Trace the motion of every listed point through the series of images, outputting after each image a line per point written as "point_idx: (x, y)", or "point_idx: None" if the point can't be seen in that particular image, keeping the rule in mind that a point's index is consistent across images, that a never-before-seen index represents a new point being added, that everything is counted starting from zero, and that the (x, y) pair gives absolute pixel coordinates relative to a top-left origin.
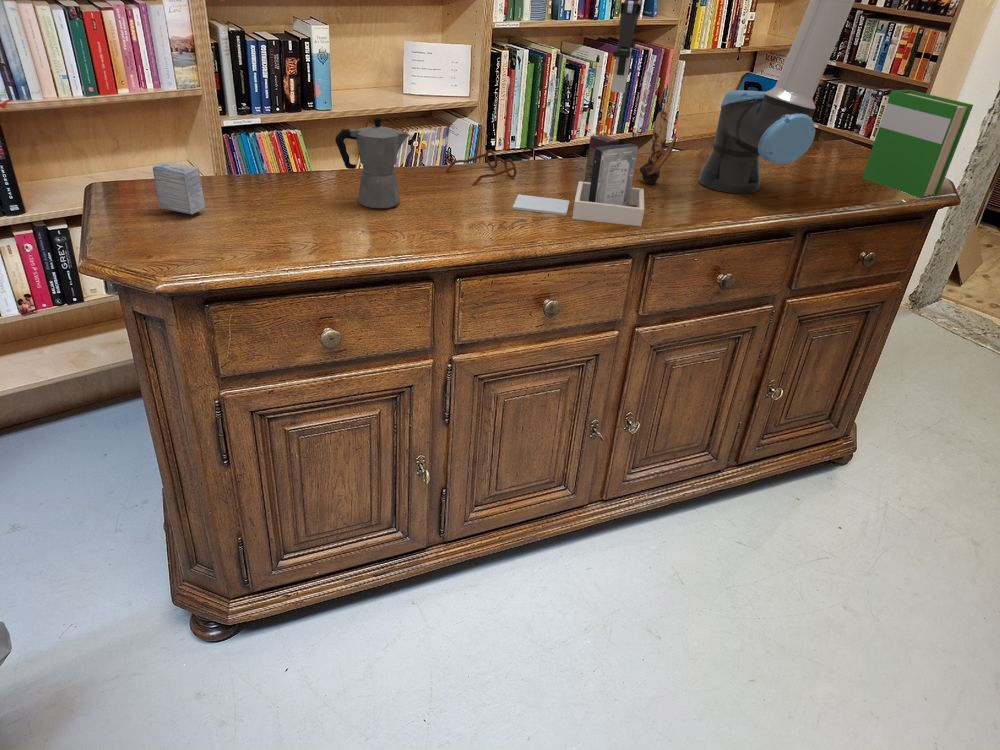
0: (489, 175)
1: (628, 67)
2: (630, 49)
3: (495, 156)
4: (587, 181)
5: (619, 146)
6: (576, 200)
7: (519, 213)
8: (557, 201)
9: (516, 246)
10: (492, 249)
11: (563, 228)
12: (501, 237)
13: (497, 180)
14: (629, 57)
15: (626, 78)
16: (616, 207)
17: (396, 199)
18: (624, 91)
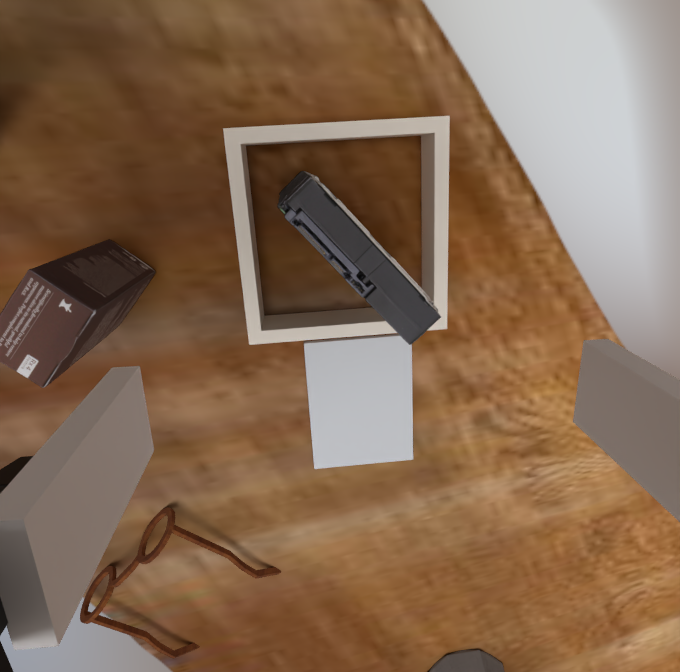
0: (239, 561)
1: (105, 415)
2: (34, 524)
3: (110, 592)
4: (120, 321)
5: (359, 257)
6: (436, 325)
7: (435, 436)
8: (326, 371)
9: None
10: None
11: (505, 324)
12: None
13: (207, 536)
14: (68, 468)
15: (673, 376)
16: (447, 206)
17: (476, 660)
18: (614, 343)
